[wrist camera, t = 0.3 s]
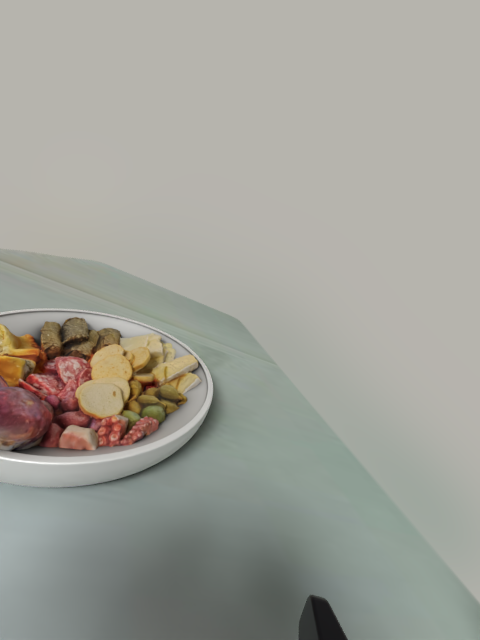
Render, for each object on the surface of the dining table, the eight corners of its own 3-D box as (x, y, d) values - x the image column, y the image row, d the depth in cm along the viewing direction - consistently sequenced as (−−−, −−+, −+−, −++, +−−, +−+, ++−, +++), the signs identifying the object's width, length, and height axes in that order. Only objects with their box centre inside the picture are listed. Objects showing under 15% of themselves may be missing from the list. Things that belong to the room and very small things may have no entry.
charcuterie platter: (43, 320, 51) (48, 275, 49) (216, 374, 53) (230, 332, 50) (-226, 446, 23) (-246, 352, 20) (167, 557, 24) (193, 482, 22)
